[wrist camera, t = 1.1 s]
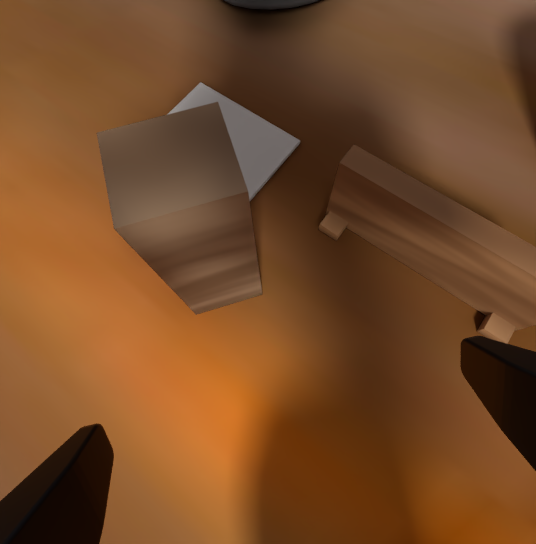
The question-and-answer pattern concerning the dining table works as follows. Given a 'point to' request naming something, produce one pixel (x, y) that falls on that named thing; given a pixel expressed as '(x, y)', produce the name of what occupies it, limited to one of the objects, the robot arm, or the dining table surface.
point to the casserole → (269, 3)
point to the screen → (436, 240)
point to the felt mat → (246, 137)
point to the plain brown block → (184, 204)
